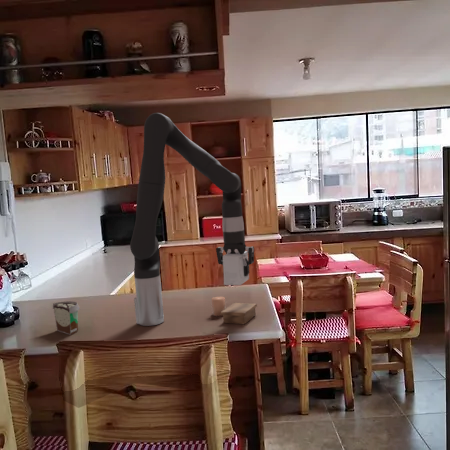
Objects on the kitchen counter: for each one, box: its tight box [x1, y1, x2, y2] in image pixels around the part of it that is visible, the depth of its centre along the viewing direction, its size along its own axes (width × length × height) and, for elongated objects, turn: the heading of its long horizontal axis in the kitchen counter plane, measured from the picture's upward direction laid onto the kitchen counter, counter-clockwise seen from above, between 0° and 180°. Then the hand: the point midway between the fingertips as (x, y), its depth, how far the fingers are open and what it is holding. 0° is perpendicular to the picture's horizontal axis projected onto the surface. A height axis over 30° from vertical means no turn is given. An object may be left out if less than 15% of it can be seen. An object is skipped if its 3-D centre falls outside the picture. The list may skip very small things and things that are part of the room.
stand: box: [221, 302, 258, 325], centre depth 175 cm, size 9×12×4 cm
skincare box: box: [222, 250, 250, 286], centre depth 173 cm, size 10×6×10 cm, turn 160°
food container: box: [52, 300, 80, 336], centre depth 175 cm, size 12×6×10 cm, turn 48°
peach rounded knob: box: [211, 296, 227, 317], centre depth 182 cm, size 5×5×6 cm
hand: (236, 275), depth 173 cm, fingers closed on skincare box, 6 cm apart
